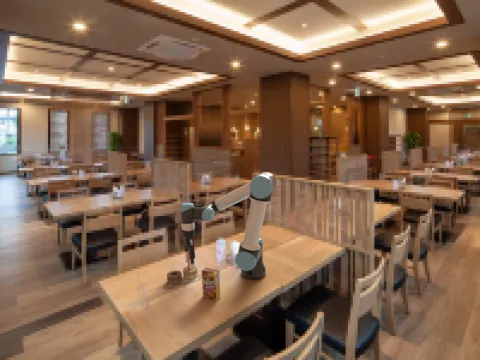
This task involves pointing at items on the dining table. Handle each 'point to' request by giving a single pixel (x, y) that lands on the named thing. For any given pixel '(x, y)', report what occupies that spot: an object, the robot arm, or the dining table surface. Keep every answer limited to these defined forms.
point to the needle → (188, 260)
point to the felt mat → (186, 280)
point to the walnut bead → (174, 277)
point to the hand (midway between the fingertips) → (189, 265)
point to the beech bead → (190, 273)
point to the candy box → (211, 283)
